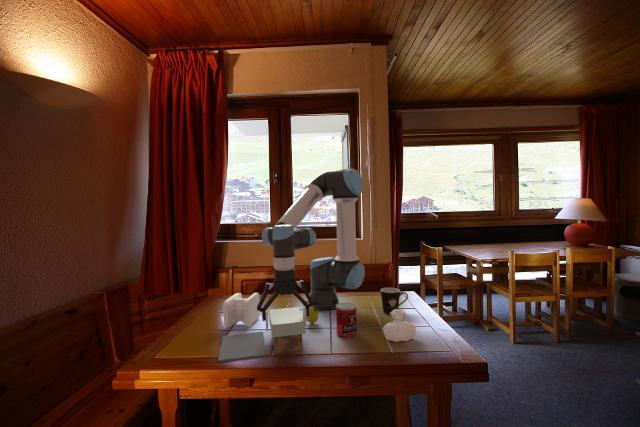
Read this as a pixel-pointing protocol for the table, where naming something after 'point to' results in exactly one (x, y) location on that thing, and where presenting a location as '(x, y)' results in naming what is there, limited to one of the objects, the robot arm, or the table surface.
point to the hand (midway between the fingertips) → (286, 327)
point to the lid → (286, 322)
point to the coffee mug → (391, 299)
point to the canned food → (346, 320)
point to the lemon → (312, 314)
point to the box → (288, 343)
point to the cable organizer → (241, 310)
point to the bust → (399, 328)
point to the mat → (242, 346)
